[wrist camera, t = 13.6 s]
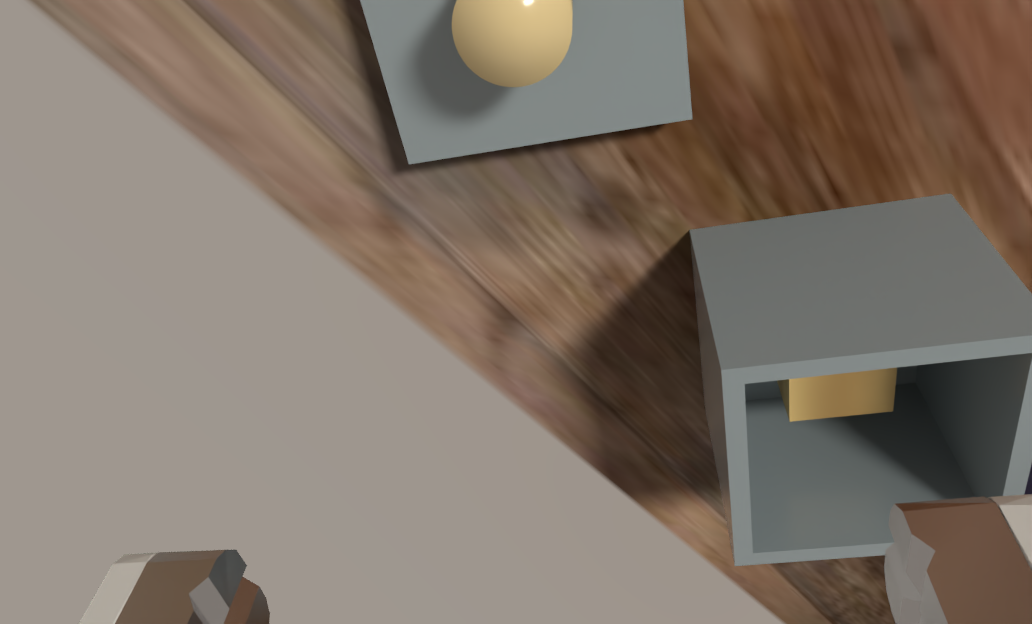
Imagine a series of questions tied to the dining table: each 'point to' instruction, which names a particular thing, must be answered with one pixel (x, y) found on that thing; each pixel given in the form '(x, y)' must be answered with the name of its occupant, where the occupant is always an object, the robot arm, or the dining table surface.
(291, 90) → the dining table surface
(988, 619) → the robot arm
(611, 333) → the dining table surface
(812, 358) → the grey open box
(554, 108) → the block with cream knob
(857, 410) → the block
